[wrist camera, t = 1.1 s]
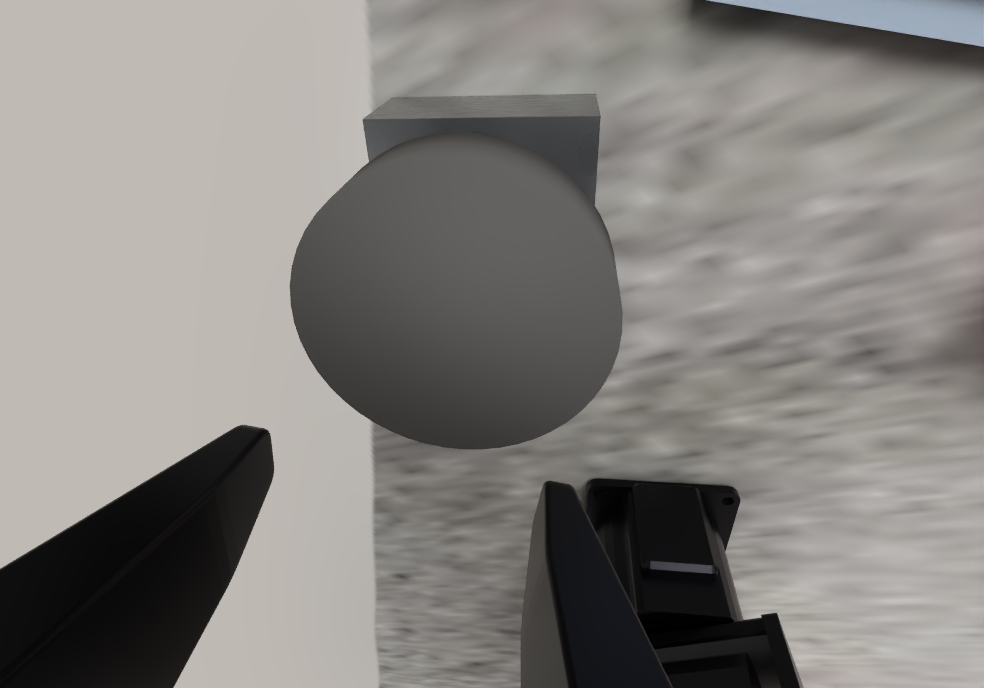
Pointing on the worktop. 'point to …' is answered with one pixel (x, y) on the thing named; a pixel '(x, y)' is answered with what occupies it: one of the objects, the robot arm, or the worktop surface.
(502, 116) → the axle mount
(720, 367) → the worktop surface
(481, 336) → the wheel
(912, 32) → the tray
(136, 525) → the robot arm
